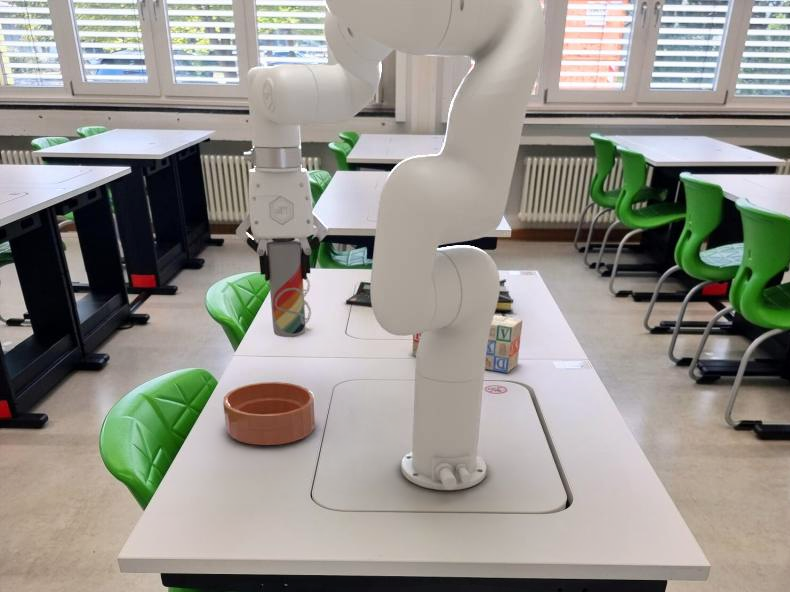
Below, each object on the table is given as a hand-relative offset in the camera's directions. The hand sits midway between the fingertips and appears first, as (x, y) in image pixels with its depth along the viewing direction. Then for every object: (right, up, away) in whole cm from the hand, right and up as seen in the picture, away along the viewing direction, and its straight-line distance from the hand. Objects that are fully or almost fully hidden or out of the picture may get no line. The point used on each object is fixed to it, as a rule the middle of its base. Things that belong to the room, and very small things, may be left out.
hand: (285, 277), depth 124 cm
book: (+39, +16, +65) cm, 78 cm away
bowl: (-2, -27, -5) cm, 27 cm away
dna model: (-3, +1, +40) cm, 40 cm away
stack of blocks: (+33, -8, +27) cm, 43 cm away
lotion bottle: (0, -8, +5) cm, 10 cm away
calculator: (+12, +17, +64) cm, 68 cm away
